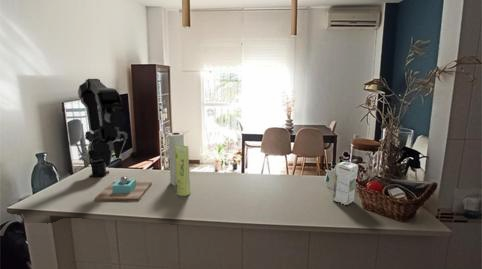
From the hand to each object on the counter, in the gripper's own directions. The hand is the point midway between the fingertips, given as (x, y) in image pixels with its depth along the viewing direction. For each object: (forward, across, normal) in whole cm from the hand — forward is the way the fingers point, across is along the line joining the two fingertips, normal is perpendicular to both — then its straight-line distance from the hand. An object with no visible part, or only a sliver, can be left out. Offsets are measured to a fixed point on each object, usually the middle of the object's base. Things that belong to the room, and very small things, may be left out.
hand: (112, 161), depth 115 cm
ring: (+10, +3, +5) cm, 12 cm away
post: (+10, +3, +5) cm, 12 cm away
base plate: (+11, +3, +5) cm, 13 cm away
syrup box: (+10, +11, +88) cm, 89 cm away
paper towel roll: (+12, -7, +23) cm, 27 cm away
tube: (+11, +4, +28) cm, 31 cm away
